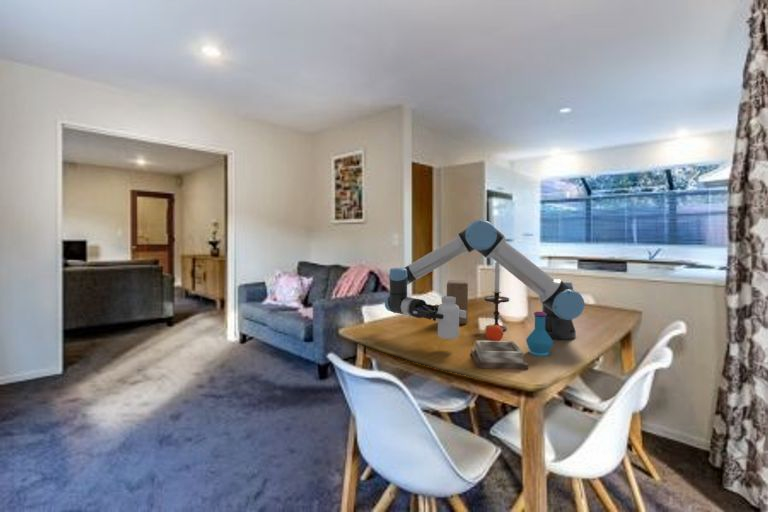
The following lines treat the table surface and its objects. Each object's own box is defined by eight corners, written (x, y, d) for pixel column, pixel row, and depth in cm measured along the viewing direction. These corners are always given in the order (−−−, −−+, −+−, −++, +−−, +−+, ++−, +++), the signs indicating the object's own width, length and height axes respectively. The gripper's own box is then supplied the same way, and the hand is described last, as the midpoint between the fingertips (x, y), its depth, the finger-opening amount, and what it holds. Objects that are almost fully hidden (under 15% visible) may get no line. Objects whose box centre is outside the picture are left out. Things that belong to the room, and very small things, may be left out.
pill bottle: (461, 339, 144) (460, 298, 143) (439, 339, 144) (438, 299, 143) (457, 333, 152) (457, 295, 151) (436, 334, 152) (436, 295, 151)
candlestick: (485, 331, 175) (486, 253, 173) (483, 326, 186) (484, 252, 183) (510, 332, 173) (511, 253, 171) (506, 326, 184) (508, 252, 182)
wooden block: (467, 324, 189) (467, 283, 188) (446, 323, 191) (446, 282, 190) (467, 319, 199) (467, 280, 197) (447, 319, 201) (447, 280, 199)
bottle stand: (515, 353, 144) (515, 340, 143) (528, 369, 128) (528, 354, 127) (471, 352, 145) (471, 339, 145) (478, 367, 129) (478, 352, 129)
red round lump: (479, 341, 160) (480, 324, 160) (488, 337, 165) (488, 321, 165) (498, 345, 155) (498, 327, 154) (506, 341, 160) (506, 324, 159)
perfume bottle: (550, 358, 139) (551, 316, 138) (523, 354, 143) (524, 313, 142) (554, 351, 146) (555, 311, 145) (528, 347, 151) (529, 309, 150)
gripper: (431, 313, 168) (475, 321, 151) (396, 320, 155) (439, 331, 138) (431, 295, 168) (475, 302, 151) (395, 301, 154) (439, 310, 137)
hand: (458, 316), depth 144 cm, fingers closed on pill bottle, 8 cm apart
